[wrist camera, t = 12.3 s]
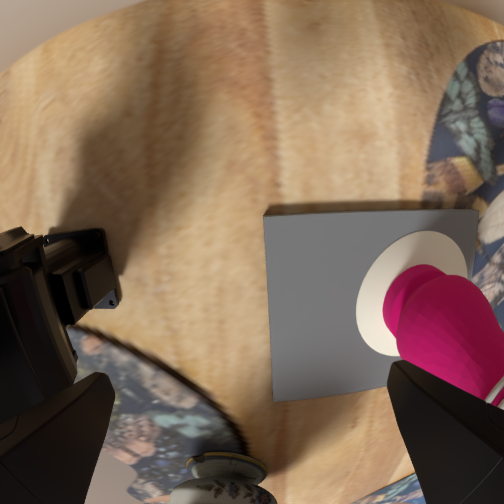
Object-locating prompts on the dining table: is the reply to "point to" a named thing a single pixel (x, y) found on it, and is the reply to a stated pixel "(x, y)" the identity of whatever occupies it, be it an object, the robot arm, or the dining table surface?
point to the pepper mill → (447, 330)
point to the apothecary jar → (223, 481)
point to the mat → (349, 290)
